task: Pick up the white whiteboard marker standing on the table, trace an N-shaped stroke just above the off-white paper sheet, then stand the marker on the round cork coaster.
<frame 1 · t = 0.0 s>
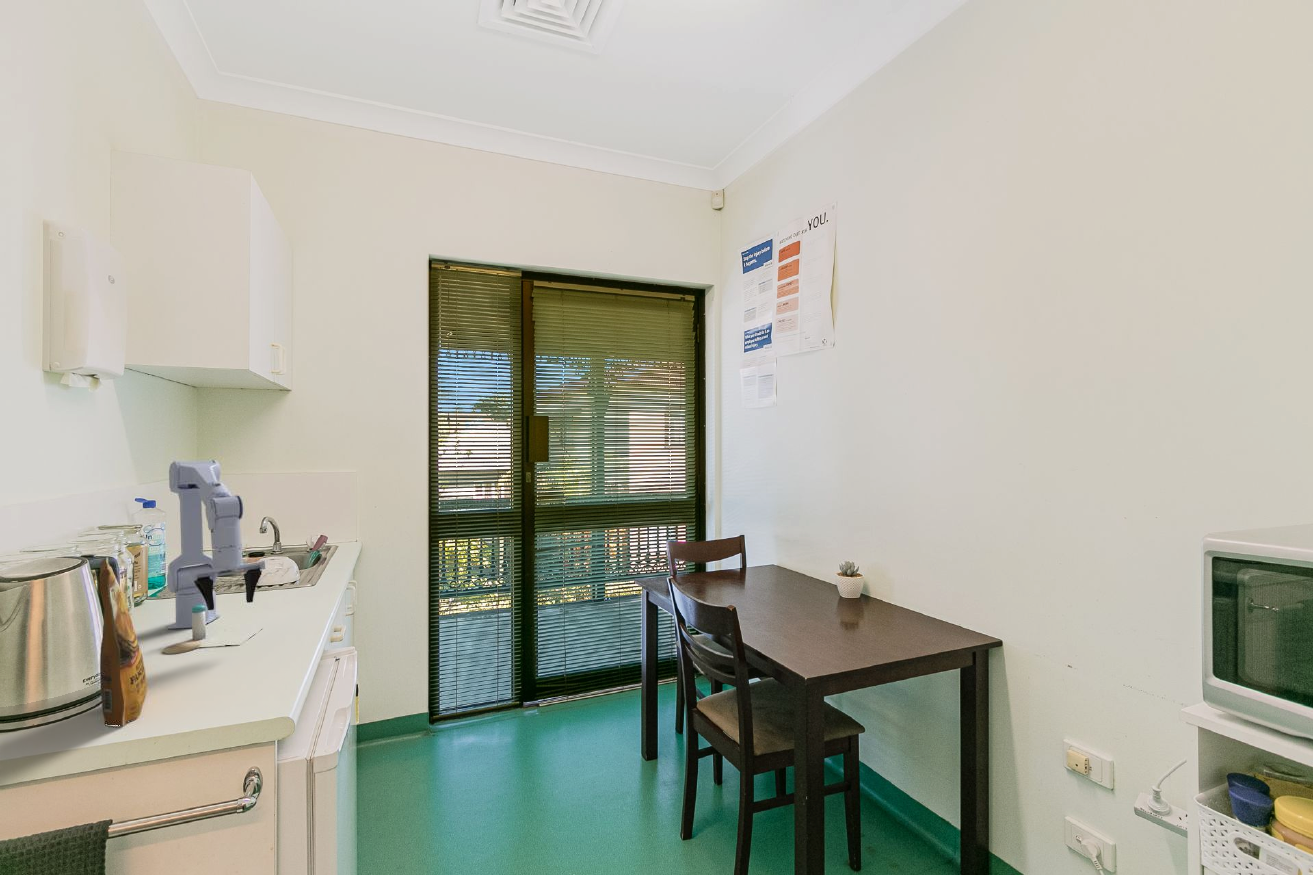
hand: (230, 606, 139), 11 cm above the countertop, tool pointing down, fingers open, 7 cm apart
pancake mix bag: (121, 712, 109), on the countertop
lemon: (123, 671, 128), on the countertop
paper: (231, 638, 148), on the countertop
marker: (199, 638, 148), on the countertop
coaster: (182, 648, 141), on the countertop
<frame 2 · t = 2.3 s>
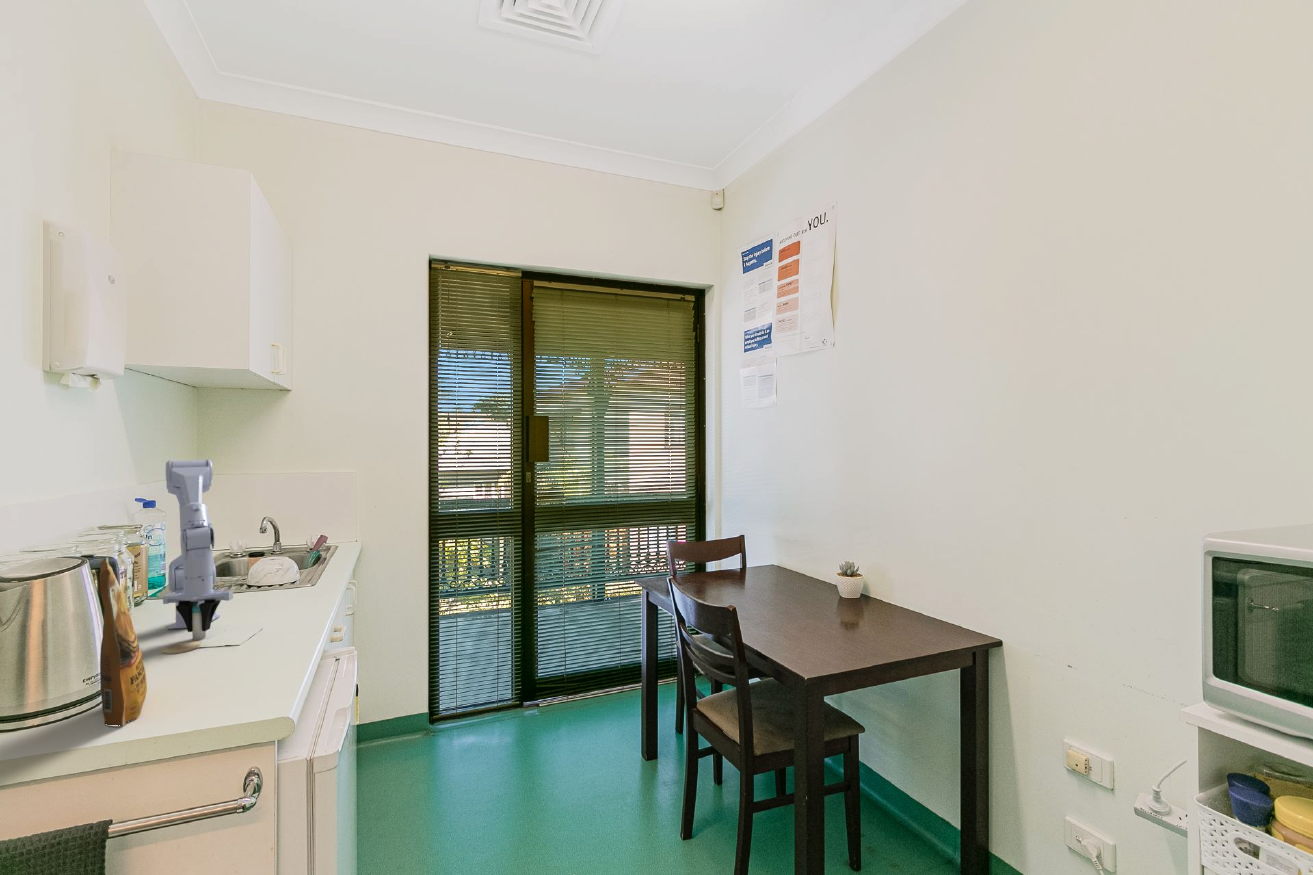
hand: (199, 630, 148), 2 cm above the countertop, tool pointing down, fingers closed on marker, 3 cm apart
marker: (199, 638, 148), on the countertop, touching gripper
everything else where it was.
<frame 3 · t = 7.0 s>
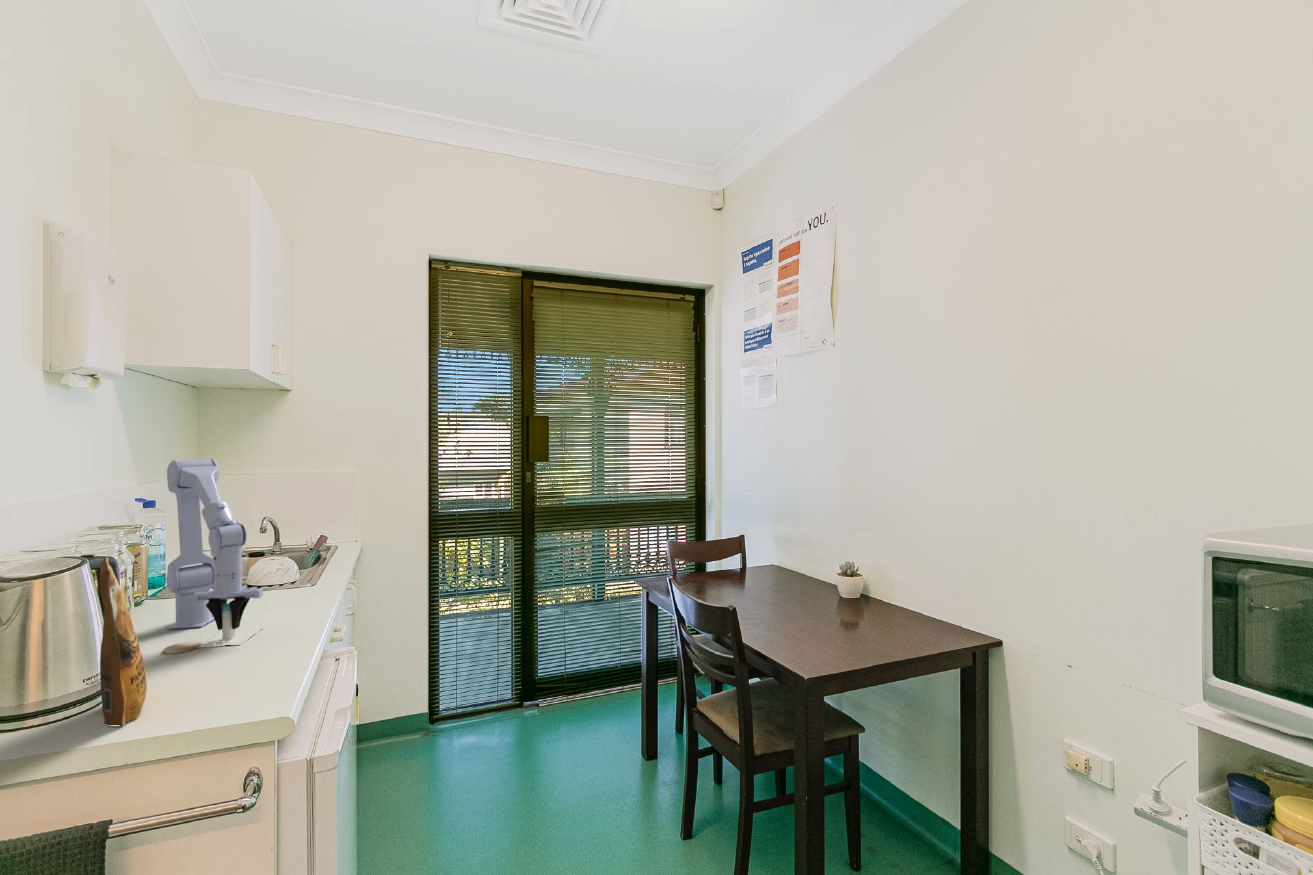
hand: (228, 628, 147), 3 cm above the countertop, tool pointing down, fingers closed on marker, 3 cm apart
marker: (228, 636, 147), point 1 cm above the countertop, touching gripper
everything else where it was.
when the fingers open (3 cm above the countertop, at t = 11.6 s): marker stays where it is, resting on coaster.
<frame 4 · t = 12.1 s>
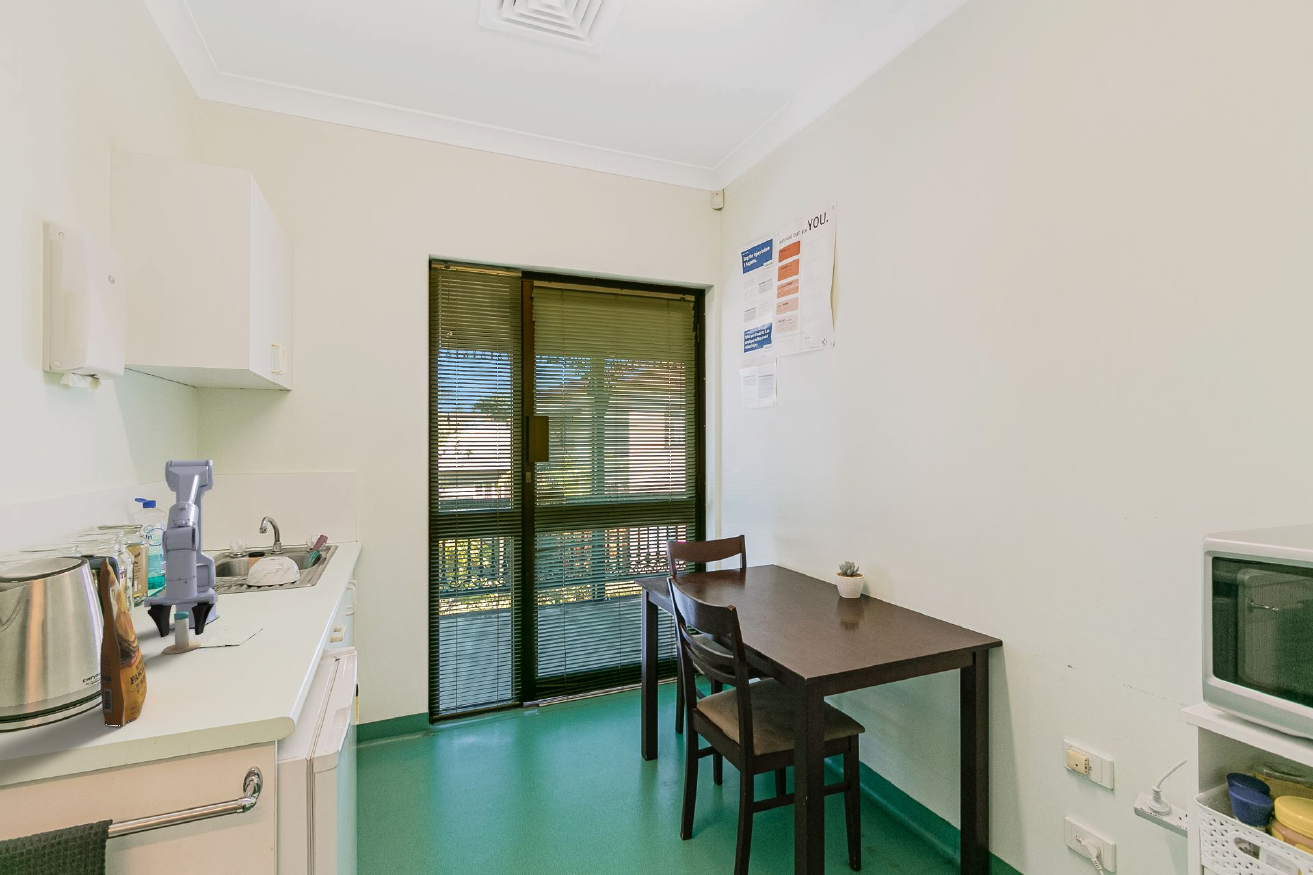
hand: (182, 635, 141), 3 cm above the countertop, tool pointing down, fingers open, 7 cm apart
marker: (182, 647, 141), resting on coaster
everything else where it was.
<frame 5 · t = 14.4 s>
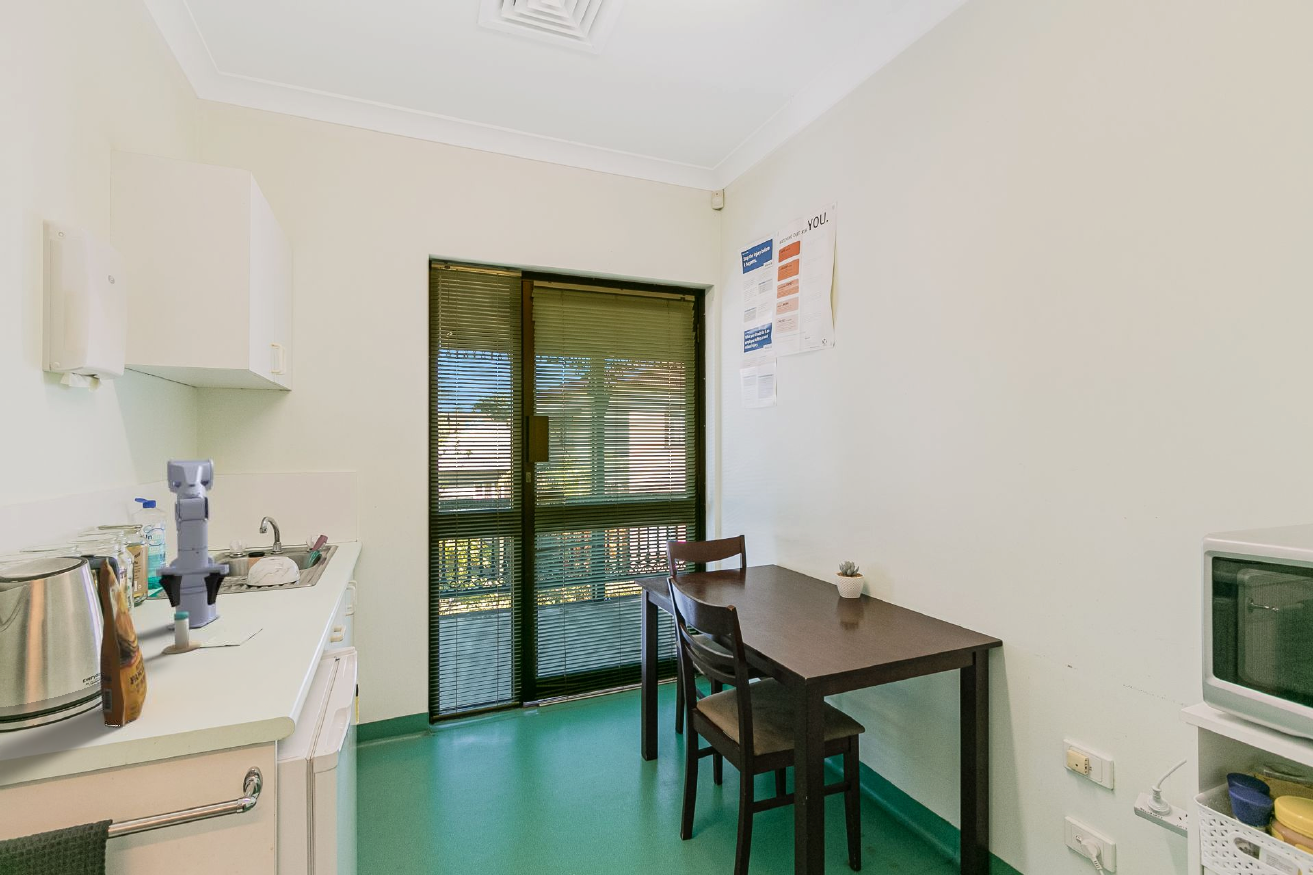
hand: (193, 605, 142), 10 cm above the countertop, tool pointing down, fingers open, 7 cm apart
nothing on the countertop moved.
at the end: marker 0.2 cm from the coaster (horizontally); marker tilted 0°; marker resting on coaster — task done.
